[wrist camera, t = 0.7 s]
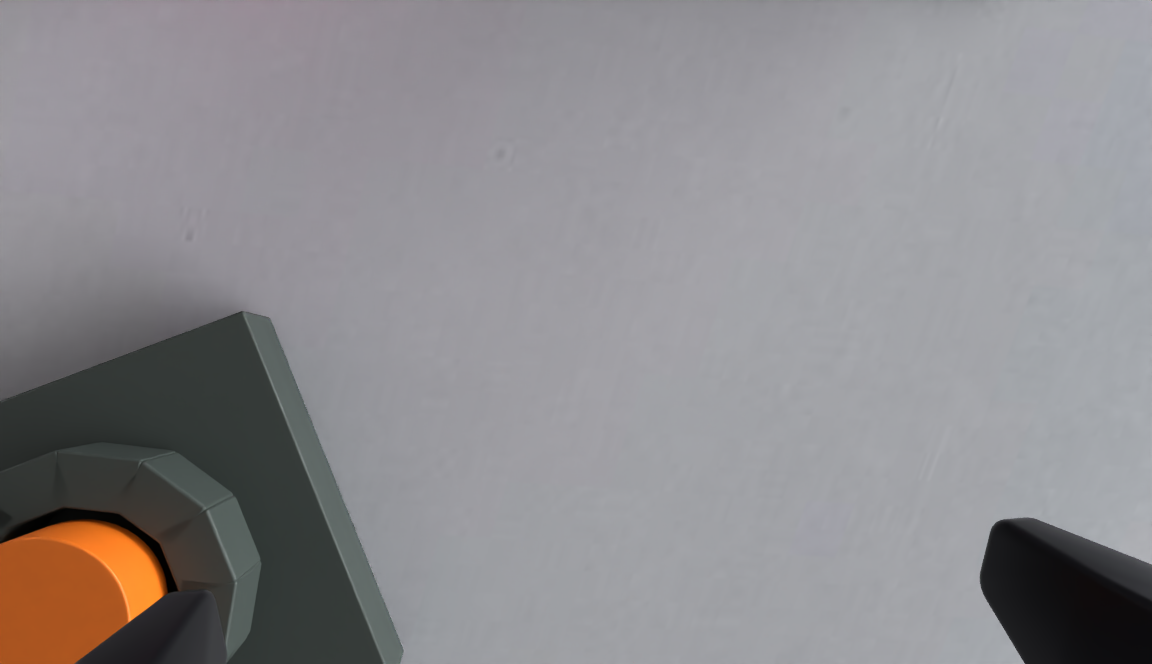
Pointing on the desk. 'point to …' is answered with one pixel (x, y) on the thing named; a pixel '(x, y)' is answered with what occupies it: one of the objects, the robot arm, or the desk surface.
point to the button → (72, 589)
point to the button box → (206, 488)
